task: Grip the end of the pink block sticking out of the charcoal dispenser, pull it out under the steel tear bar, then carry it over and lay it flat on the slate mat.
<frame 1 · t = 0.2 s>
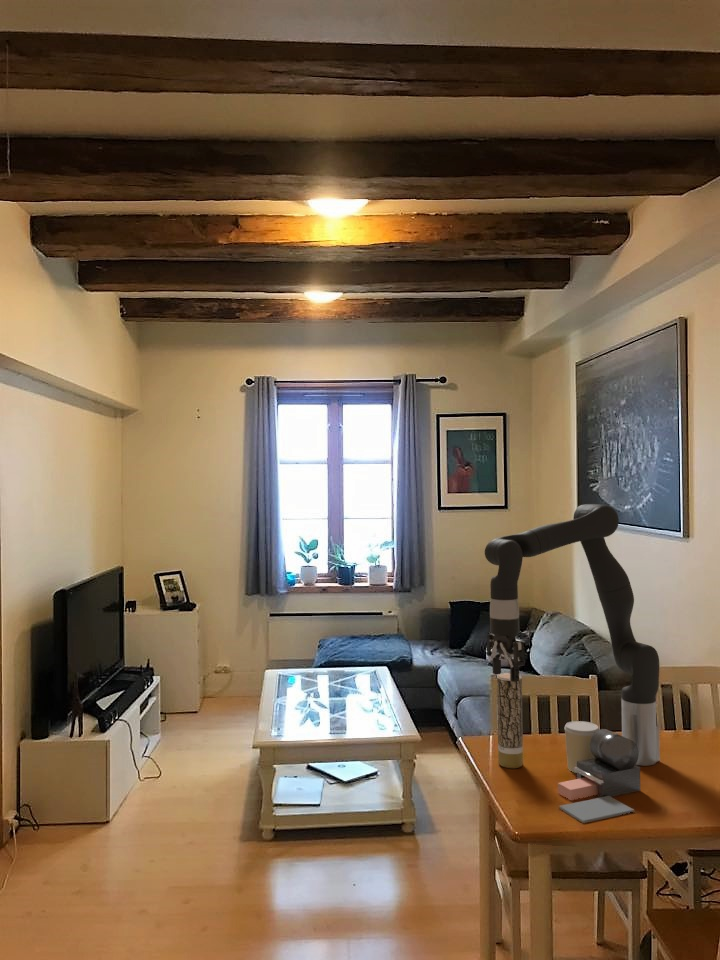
hand: (505, 677, 203), 28 cm above the table, tool pointing down, fingers open, 8 cm apart
coffee cup: (582, 770, 214), on the table
bark print canister: (510, 765, 218), on the table
mat: (596, 810, 187), on the table
dispenser: (608, 787, 201), on the table
pink block: (586, 793, 198), on the table
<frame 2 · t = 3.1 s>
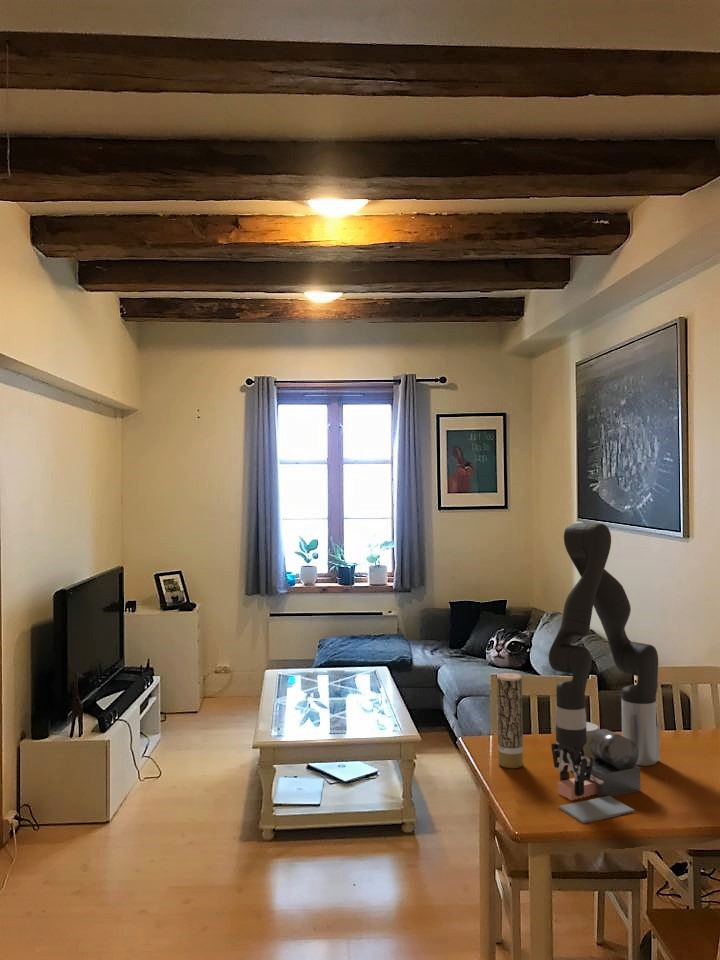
hand: (571, 790, 196), 1 cm above the table, tool pointing down, fingers closed on pink block, 5 cm apart
pink block: (585, 791, 198), on the table, touching gripper
everything else where it was.
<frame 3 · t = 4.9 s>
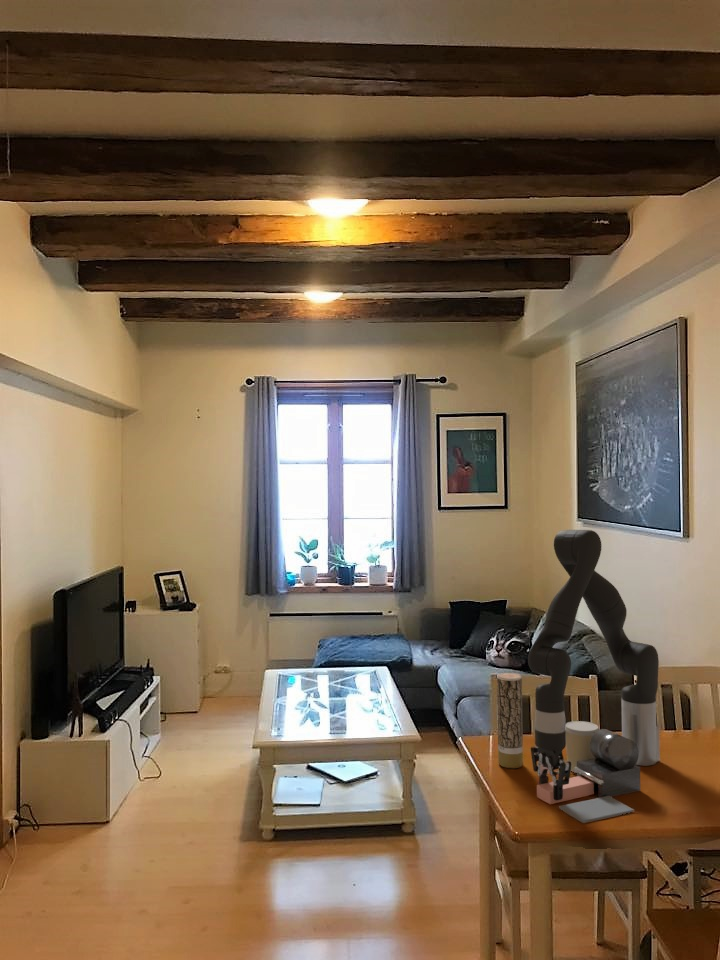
hand: (550, 795, 194), 1 cm above the table, tool pointing down, fingers closed on pink block, 5 cm apart
pink block: (565, 795, 196), on the table, touching gripper
everything else where it was.
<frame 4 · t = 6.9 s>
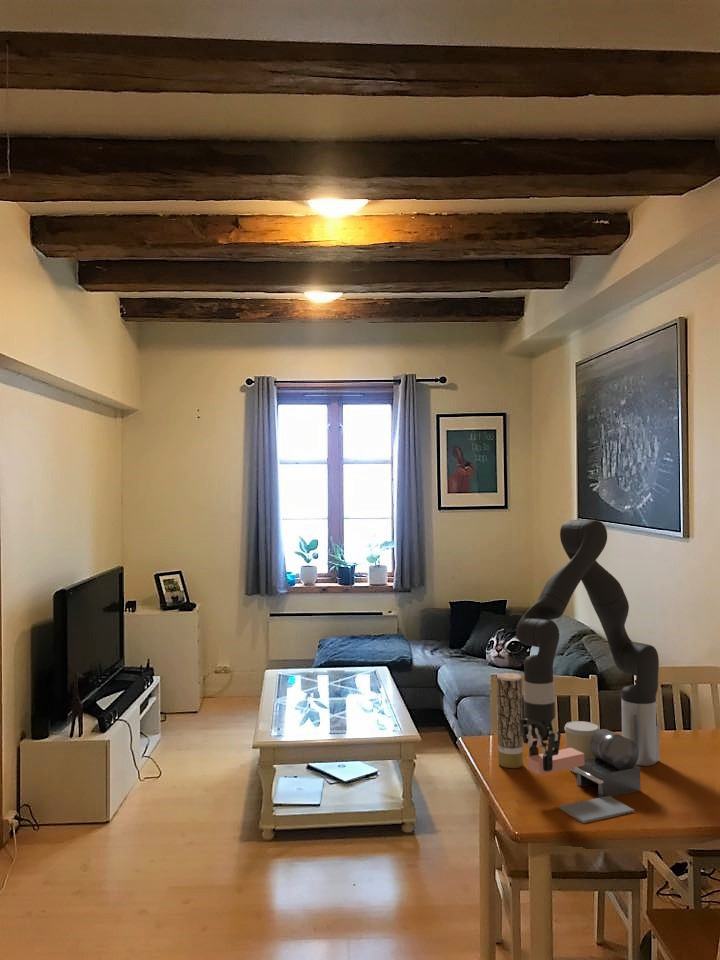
hand: (540, 766, 193), 9 cm above the table, tool pointing down, fingers closed on pink block, 5 cm apart
pink block: (555, 767, 195), point 8 cm above the table, touching gripper
everything else where it was.
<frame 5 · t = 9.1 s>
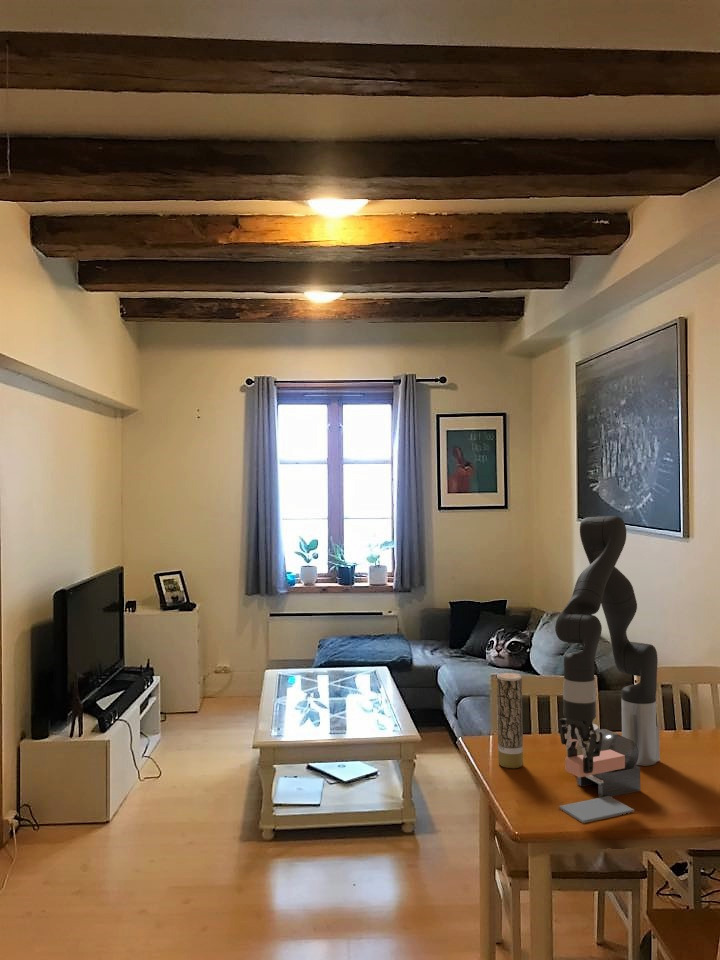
hand: (580, 768, 185), 11 cm above the table, tool pointing down, fingers closed on pink block, 5 cm apart
pink block: (595, 769, 187), point 10 cm above the table, touching gripper
everything else where it was.
when the fingers open (3 cm above the table, at t = 10.9 s): pink block drops 1 cm, resting on mat.
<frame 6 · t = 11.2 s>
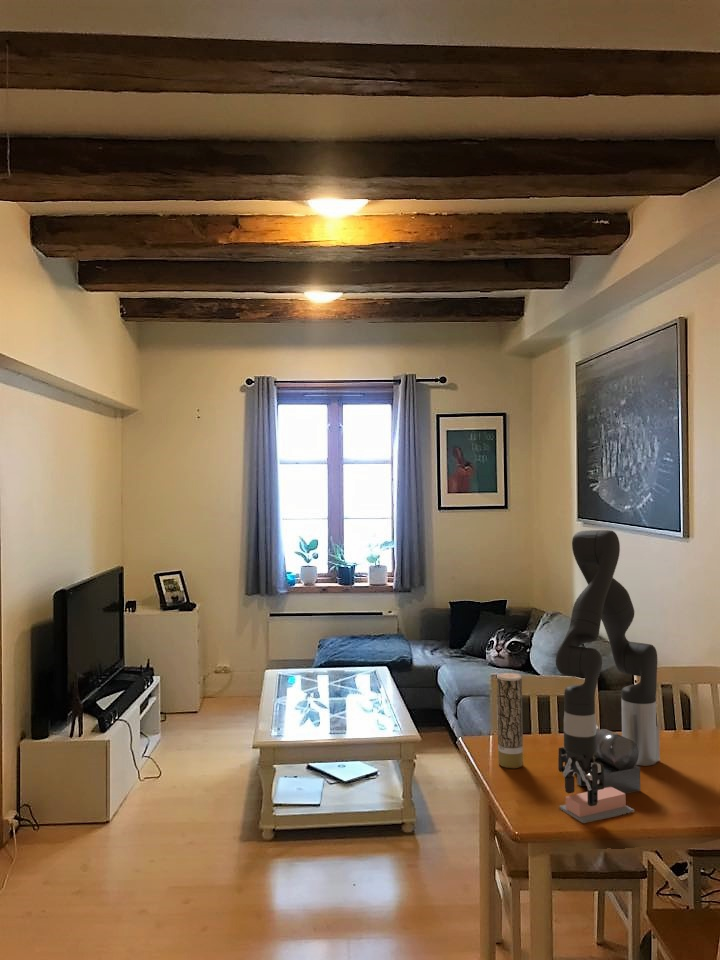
hand: (580, 798, 185), 4 cm above the table, tool pointing down, fingers open, 8 cm apart
pink block: (595, 807, 187), point 1 cm above the table, touching mat
everything else where it was.
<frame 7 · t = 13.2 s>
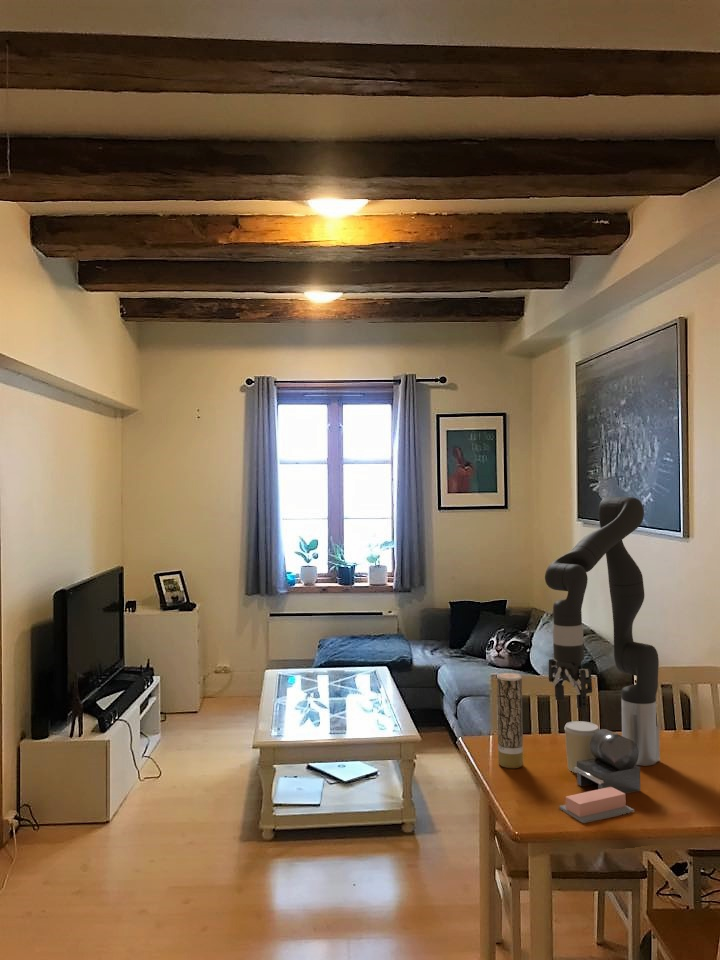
hand: (570, 704, 199), 22 cm above the table, tool pointing down, fingers open, 8 cm apart
nothing on the table moved.
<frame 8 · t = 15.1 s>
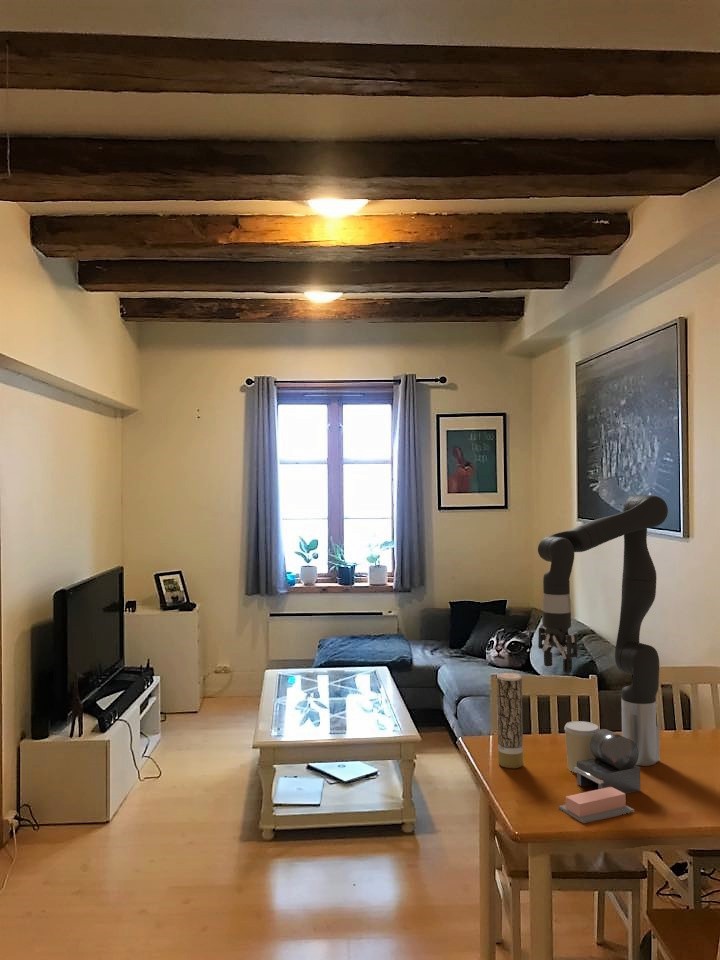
hand: (557, 669, 212), 28 cm above the table, tool pointing down, fingers open, 8 cm apart
nothing on the table moved.
at the end: pink block inside the target area on the mat (0.1 cm from its centre), point 0.6 cm above the mat's base; pink block tilted 0°; the gripper is holding nothing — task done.
